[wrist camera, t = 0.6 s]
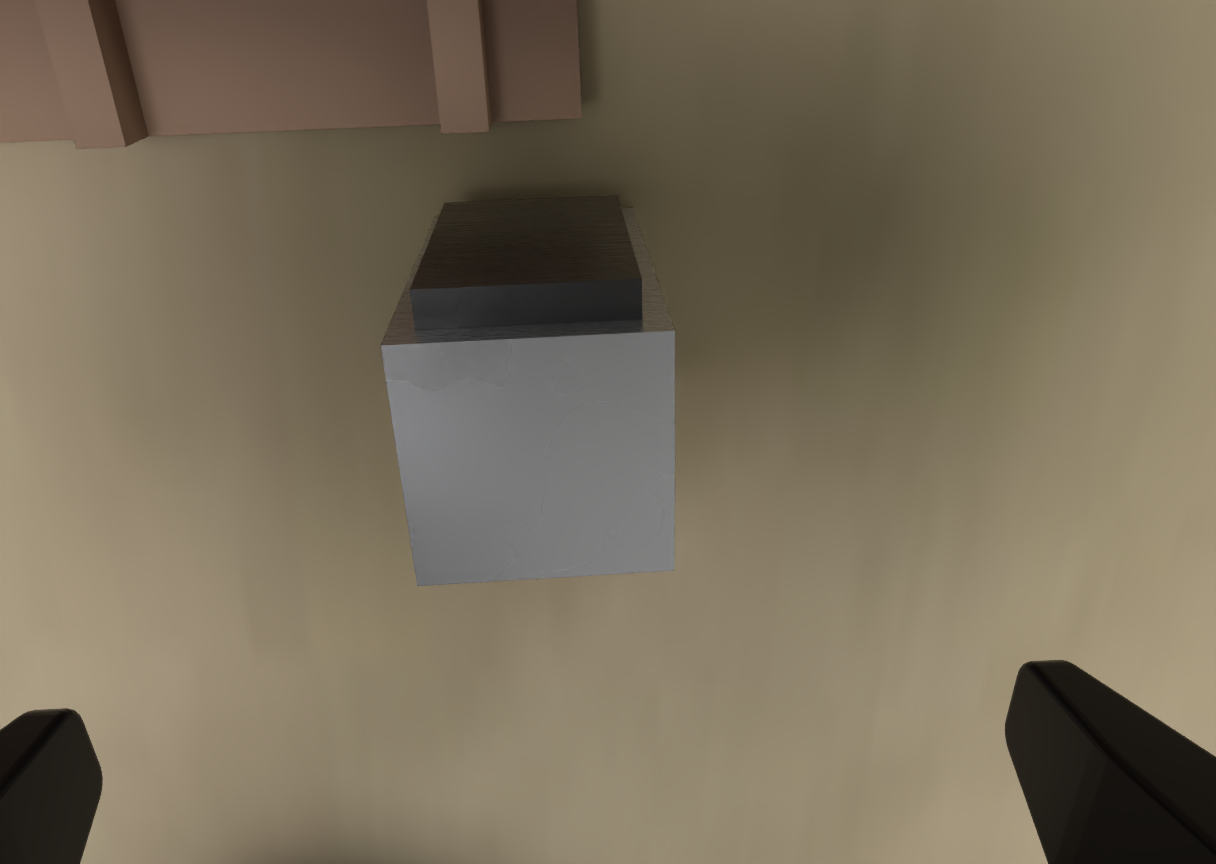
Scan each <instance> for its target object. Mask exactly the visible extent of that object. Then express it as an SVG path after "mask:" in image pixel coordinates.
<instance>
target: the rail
mask: <svg viewBox="0 0 1216 864" xmlns="http://www.w3.org/2000/svg"><path fill="white" fill-rule="evenodd" d="M580 118H582V109H581V85H580V61H579V37H578V13H577V0H0V142H22V141H46V140H70V139H74V142H75V145H76V149H85V148H110V147H127V146H129V145H131V144H133V143H135V142H137V141H139V140H142V139H144V138H146V137H148V136H167V135H192V134H216V133H240V132H265V131H289V130H313V129H337V128H362V127H386V126H410V125H435V124H440V128H441V134H446V133H470V132H489V130H490V127H491V124H492V122H507V121H532V120H556V119H580Z"/></svg>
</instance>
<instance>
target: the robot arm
mask: <svg viewBox="0 0 1216 864" xmlns="http://www.w3.org/2000/svg"><path fill="white" fill-rule="evenodd" d="M1005 737H1006V743H1007V747H1008V750H1009V753H1010V756H1011V759H1012V762H1013V765H1014V768H1015V770H1016V773H1017V776H1018V779H1019V782H1020V785H1021V788H1022V790H1023V793H1024V796H1025V799H1026V802H1027V805H1028V808H1029V810H1030V813H1031V816H1032V819H1033V822H1034V825H1035V828H1036V830H1037V833H1038V836H1039V839H1040V842H1041V845H1042V848H1043V850H1044V853H1045V856H1046V859H1047V862H1048V864H1216V757H1215V756H1214V755H1212V754H1211V753H1209V752H1208V751H1206V750H1205V749H1203V748H1201V747H1200V746H1198V745H1197V744H1195V743H1194V742H1192V741H1191V740H1189V739H1188V738H1186V737H1185V736H1183V735H1182V734H1180V733H1178V732H1177V731H1175V730H1174V729H1172V728H1171V727H1169V726H1168V725H1166V724H1165V723H1163V722H1162V721H1160V720H1159V719H1157V718H1155V717H1154V716H1152V715H1151V714H1149V713H1148V712H1146V711H1145V710H1143V709H1142V708H1140V707H1139V706H1137V705H1136V704H1134V703H1132V702H1131V701H1129V700H1128V699H1126V698H1125V697H1123V696H1122V695H1120V694H1119V693H1117V692H1116V691H1114V690H1113V689H1111V688H1109V687H1108V686H1106V685H1105V684H1103V683H1102V682H1100V681H1099V680H1097V679H1096V678H1094V677H1093V676H1091V675H1090V674H1088V673H1086V672H1085V671H1083V670H1082V669H1080V668H1079V667H1077V666H1076V665H1074V664H1072V663H1070V662H1068V661H1064V660H1048V661H1030V662H1027V663H1025V664H1023V665H1022V667H1021V668H1020V669H1019V672H1018V675H1017V678H1016V682H1015V686H1014V690H1013V694H1012V698H1011V702H1010V706H1009V710H1008V714H1007V718H1006V723H1005ZM102 779H103V778H102V771H101V767H100V764H99V761H98V759H97V756H96V754H95V751H94V748H93V746H92V743H91V741H90V738H89V735H88V733H87V730H86V728H85V725H84V722H83V720H82V718H81V716H80V715H79V714H78V713H77V712H76V711H74V710H72V709H46V710H33V711H29V712H26V713H24V714H22V715H21V716H19V717H18V718H16V719H15V720H13V721H12V722H11V723H9V724H8V725H6V726H5V727H4V728H2V729H1V730H0V864H80V862H81V859H82V856H83V852H84V849H85V846H86V842H87V839H88V836H89V833H90V829H91V826H92V823H93V819H94V816H95V813H96V810H97V806H98V803H99V800H100V796H101V791H102Z"/></svg>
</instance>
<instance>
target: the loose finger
mask: <svg viewBox="0 0 1216 864" xmlns="http://www.w3.org/2000/svg"><path fill="white" fill-rule="evenodd" d="M381 351H382V358H383V364H384V371H385V377H386V384H387V391H388V397H389V404H390V410H391V417H392V423H393V430H394V436H395V443H396V450H397V456H398V463H399V469H400V476H401V482H402V489H403V495H404V502H405V509H406V515H407V522H408V528H409V535H410V541H411V548H412V554H413V561H414V568H415V574H416V581H417V586H426V585H443V584H459V583H476V582H492V581H509V580H526V579H542V578H559V577H575V576H592V575H608V574H625V573H641V572H658V571H674V538H675V329H674V326H673V323H672V320H671V317H670V314H669V312H668V309H667V306H666V303H665V300H664V297H663V294H662V291H661V288H660V285H659V282H658V280H657V277H656V274H655V271H654V268H653V265H652V262H651V259H650V256H649V253H648V250H647V247H646V245H645V242H644V239H643V236H642V233H641V230H640V227H639V224H638V221H637V218H636V215H635V212H634V210H633V207H621V206H620V203H619V199H618V196H617V195H609V196H586V197H564V198H541V199H519V200H496V201H474V202H452V203H444V205H443V208H442V210H441V213H440V215H439V216H435V217H434V219H433V222H432V224H431V226H430V229H429V231H428V233H427V236H426V238H425V241H424V243H423V245H422V248H421V250H420V253H419V255H418V257H417V260H416V262H415V265H414V267H413V269H412V272H411V274H410V277H409V279H408V281H407V284H406V286H405V288H404V291H403V293H402V296H401V298H400V300H399V303H398V305H397V308H396V310H395V312H394V315H393V317H392V320H391V322H390V324H389V327H388V329H387V332H386V334H385V336H384V339H383V341H382V343H381Z"/></svg>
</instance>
